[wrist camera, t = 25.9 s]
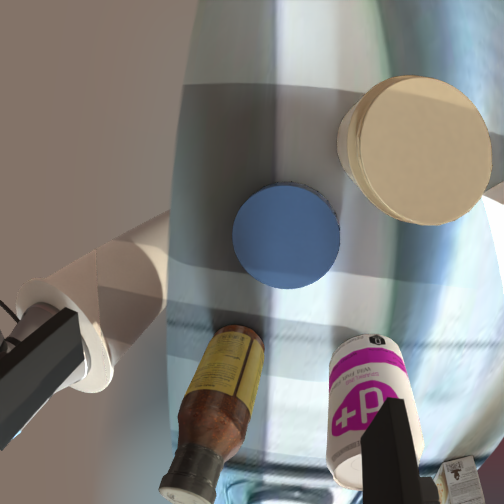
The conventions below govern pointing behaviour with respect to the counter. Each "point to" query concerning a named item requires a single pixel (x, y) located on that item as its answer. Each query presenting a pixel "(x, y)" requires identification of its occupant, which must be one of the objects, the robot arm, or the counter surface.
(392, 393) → the supplement can
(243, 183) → the counter surface
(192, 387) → the sauce bottle
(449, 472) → the coffee box
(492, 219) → the milk
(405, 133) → the jar
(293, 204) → the lid
